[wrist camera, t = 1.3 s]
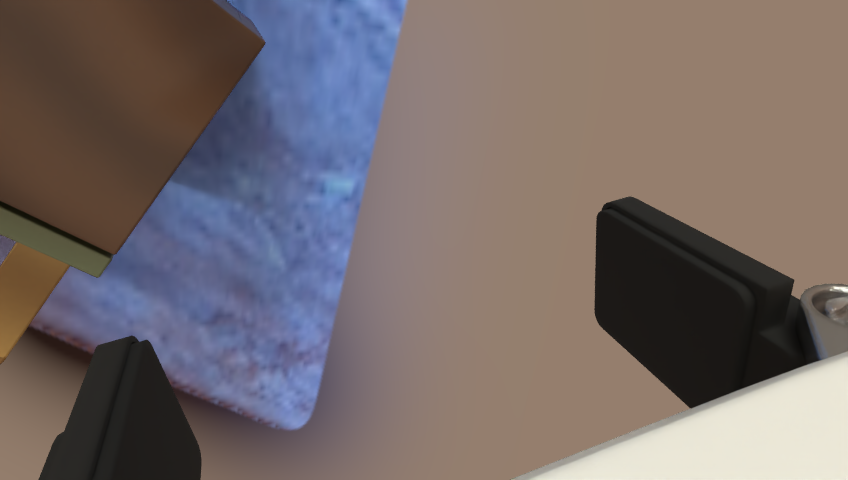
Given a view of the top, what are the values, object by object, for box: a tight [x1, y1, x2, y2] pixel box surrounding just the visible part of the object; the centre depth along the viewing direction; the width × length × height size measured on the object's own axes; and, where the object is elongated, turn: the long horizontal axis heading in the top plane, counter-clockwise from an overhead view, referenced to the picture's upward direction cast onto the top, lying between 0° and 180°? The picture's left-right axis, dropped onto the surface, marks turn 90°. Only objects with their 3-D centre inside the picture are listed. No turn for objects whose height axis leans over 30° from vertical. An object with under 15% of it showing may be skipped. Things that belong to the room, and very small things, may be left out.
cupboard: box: [0, 0, 265, 255], centre depth 22 cm, size 10×14×14 cm
